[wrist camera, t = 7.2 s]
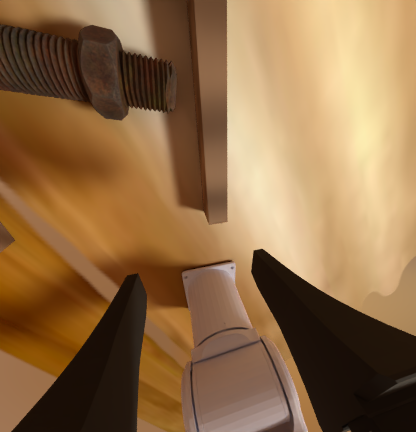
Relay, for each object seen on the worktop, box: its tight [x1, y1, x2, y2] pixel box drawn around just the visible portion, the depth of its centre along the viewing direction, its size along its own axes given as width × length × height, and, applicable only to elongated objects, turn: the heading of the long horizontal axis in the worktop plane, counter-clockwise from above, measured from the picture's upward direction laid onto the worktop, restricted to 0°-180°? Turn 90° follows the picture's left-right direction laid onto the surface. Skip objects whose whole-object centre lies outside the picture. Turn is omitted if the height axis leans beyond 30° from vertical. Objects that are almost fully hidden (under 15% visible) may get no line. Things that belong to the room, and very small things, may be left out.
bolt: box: [0, 24, 177, 120], centre depth 11 cm, size 6×5×15 cm
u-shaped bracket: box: [0, 0, 227, 252], centre depth 13 cm, size 20×24×3 cm
